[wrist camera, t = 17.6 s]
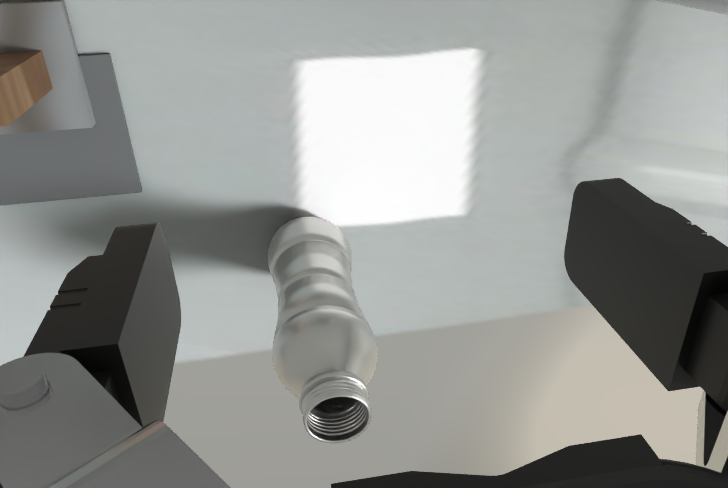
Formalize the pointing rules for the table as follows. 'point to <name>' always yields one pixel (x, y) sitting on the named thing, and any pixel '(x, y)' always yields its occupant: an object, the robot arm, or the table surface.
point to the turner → (40, 70)
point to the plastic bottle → (321, 329)
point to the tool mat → (73, 150)
